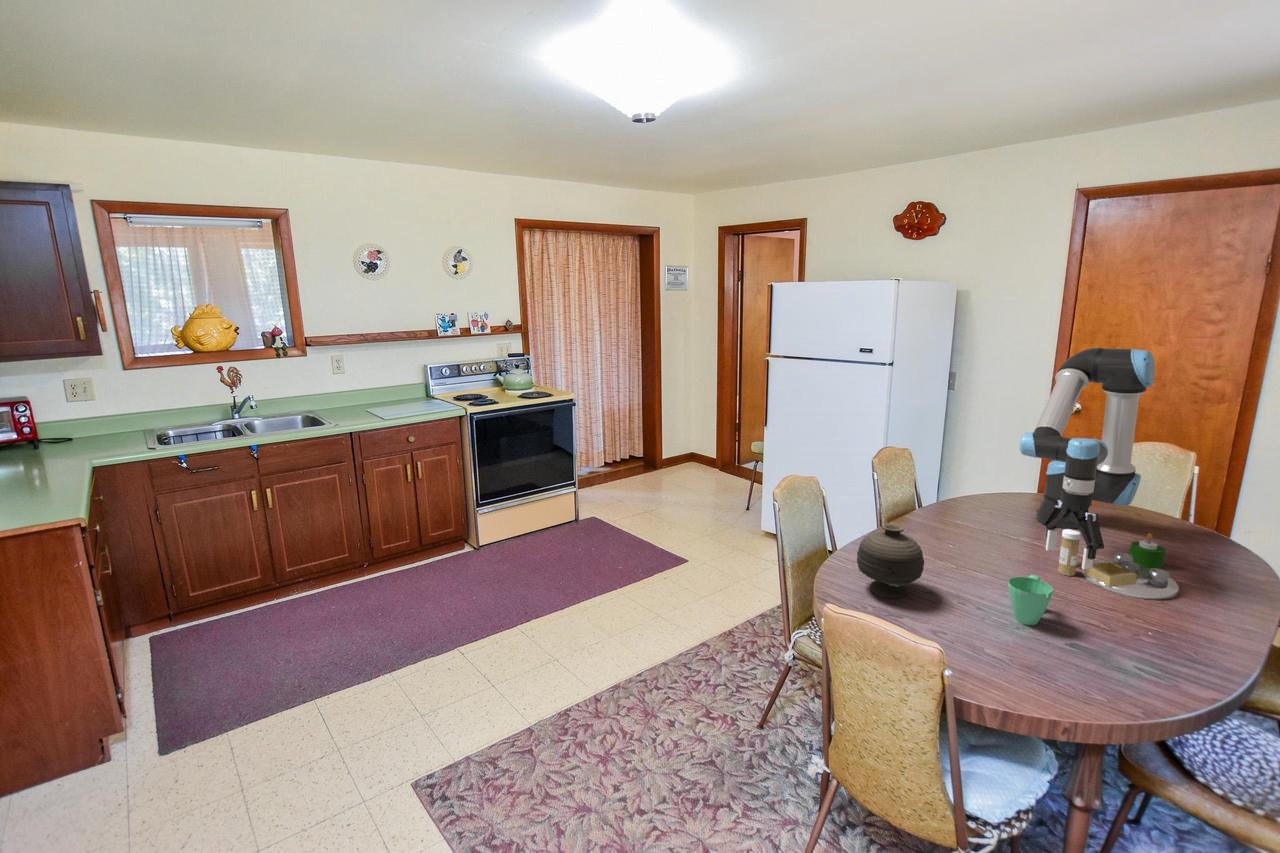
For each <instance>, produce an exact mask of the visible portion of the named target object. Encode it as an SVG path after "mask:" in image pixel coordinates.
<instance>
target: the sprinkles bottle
mask: <svg viewBox="0 0 1280 853" xmlns="http://www.w3.org/2000/svg"><path fill="white" fill-rule="evenodd" d="M1061 533H1062V534H1061V537H1062V538H1061V544H1060V551H1059V558H1058V568H1057V572H1058V573H1059V574H1061V575H1063V576H1068V577H1071V576H1072V577H1073V576H1076V570H1077V563H1078V554H1079V545H1080V540H1081V536H1082V534H1081V531H1080V530H1075V529H1069V528H1063V530H1062V532H1061Z"/></svg>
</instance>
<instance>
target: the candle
mask: <svg viewBox="0 0 1280 853" xmlns="http://www.w3.org/2000/svg"><path fill="white" fill-rule="evenodd" d="M1152 540H1153V533H1151V532H1149V533H1147V534H1146V539H1144V540H1143V539H1142V540H1139V541H1132V542H1131V543H1130V547H1129V553H1128V554H1130V555H1132V556H1133V561H1132V562H1134V563H1137V564H1139V565H1140V566H1141V567H1145V568H1148V569H1151V568H1157V569H1163V566H1164V560H1165V555H1166V554H1165V553H1166V549H1165V548H1164V547H1163V546H1161V545H1158V543H1157V542H1155V541H1152Z"/></svg>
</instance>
